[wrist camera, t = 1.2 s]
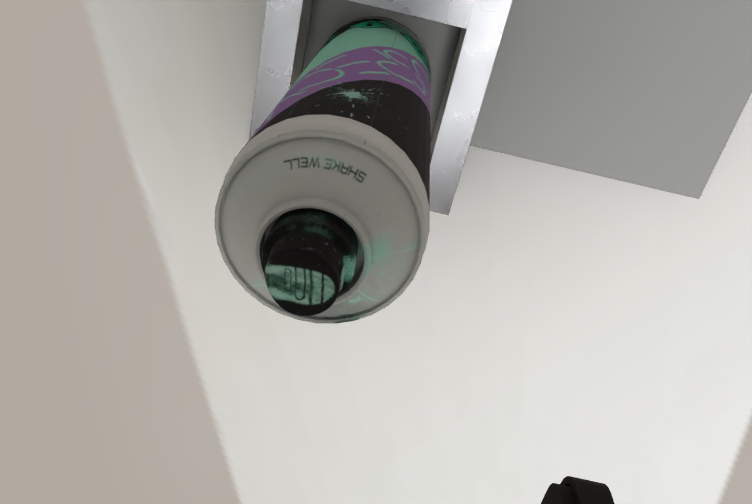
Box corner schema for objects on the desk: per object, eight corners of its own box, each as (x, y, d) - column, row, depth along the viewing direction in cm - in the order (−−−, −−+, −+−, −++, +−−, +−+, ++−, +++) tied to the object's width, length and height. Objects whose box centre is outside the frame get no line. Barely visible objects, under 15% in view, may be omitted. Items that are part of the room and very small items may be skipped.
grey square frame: (288, -61, 29) (274, -58, 27) (505, -8, 30) (512, 0, 27) (259, 147, 34) (245, 168, 31) (447, 191, 34) (448, 215, 32)
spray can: (449, 98, 32) (472, 334, 14) (353, 148, 34) (266, 415, 16) (397, -7, 30) (348, 116, 12) (297, 51, 31) (124, 234, 14)
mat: (541, -134, 27) (545, -135, 26) (816, -65, 28) (829, -64, 27) (462, 137, 33) (463, 143, 32) (691, 191, 33) (698, 199, 32)
